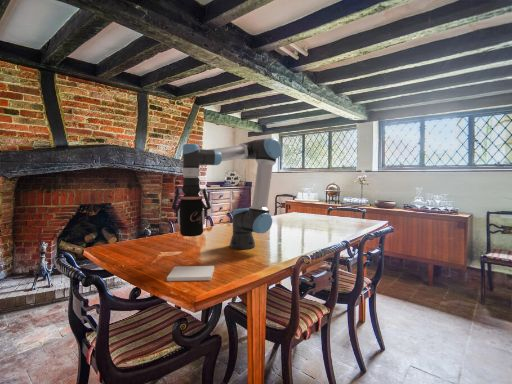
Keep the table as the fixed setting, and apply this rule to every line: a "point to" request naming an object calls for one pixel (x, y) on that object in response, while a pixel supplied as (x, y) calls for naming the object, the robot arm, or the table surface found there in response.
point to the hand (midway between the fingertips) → (191, 224)
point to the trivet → (191, 273)
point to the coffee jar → (191, 216)
